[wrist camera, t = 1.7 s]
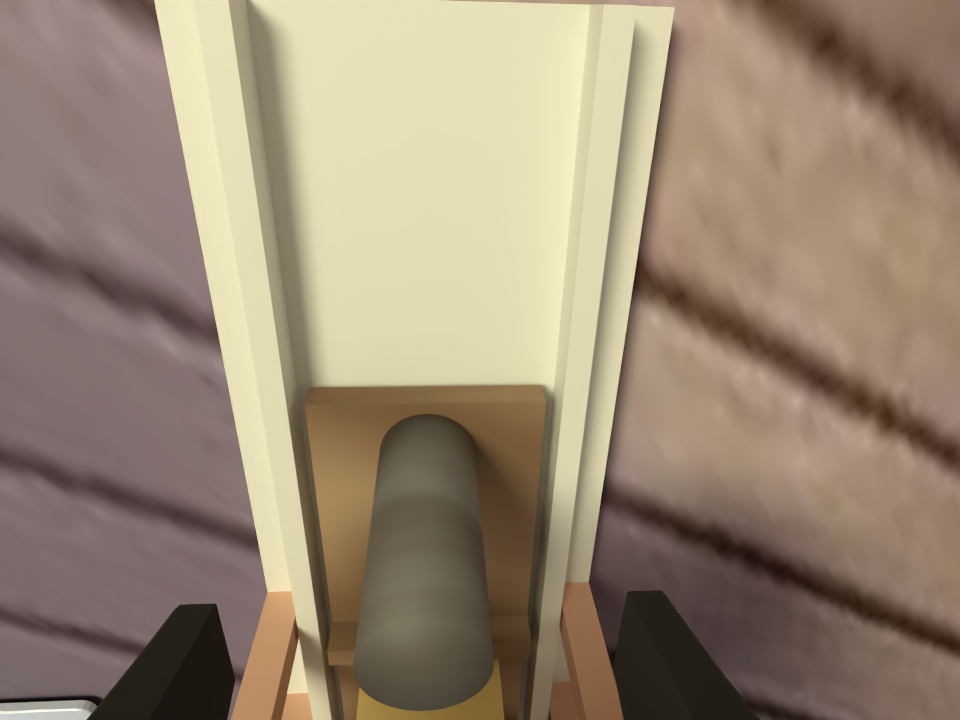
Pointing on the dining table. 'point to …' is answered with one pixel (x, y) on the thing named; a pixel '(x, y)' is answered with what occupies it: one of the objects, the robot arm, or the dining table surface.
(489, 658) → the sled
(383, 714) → the block
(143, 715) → the robot arm
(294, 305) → the track
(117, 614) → the dining table surface
